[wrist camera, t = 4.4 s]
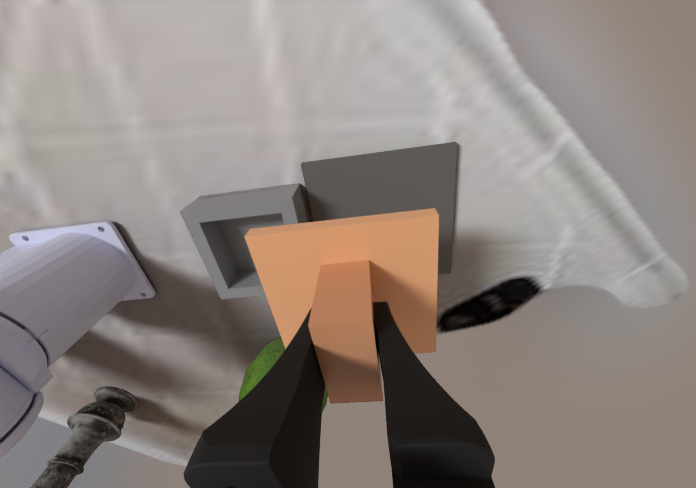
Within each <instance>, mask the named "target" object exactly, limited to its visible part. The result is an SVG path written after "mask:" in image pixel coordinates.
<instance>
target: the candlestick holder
mask: <svg viewBox="0 0 696 488" xmlns="http://www.w3.org/2000/svg"><path fill="white" fill-rule="evenodd" d="M94 397H95V399H96V402H93V403H90V404H88V405H86V406H85V407H83V408H82V409H80V410H79V411H78V412H77V413H76V414H74V415H72V416H70V417H69V418H68V420H67V424H68V426H69V427H70V428H71V429H72V433H71V435H70V437H69V439H68V441H67V442H66V443H65V444H64V446H63V447H62V448H61V450H60V451H59V452H58V454H57V455H56V456H55V457H53V458H50V459H48V461H47V465H48V467H47V468H46V469H45V471H44V472H43V473H42V474H41V476H40V477H39V478H38V479H37V481H36V482H35V483H34V485H32V487H31V488H67V487H68V486H69V484H70V483H71V482H72V480H73V479H74V477H75V476H76V475H78V474H81V473H82V472H83V471H84V468H83V466H84V465H85V463H86V462H87V460H88V459H89V457H90V456H91V454H92V453H93V452H94V451H95V449H96V448H97V447H98V446H99V445H100V444H102V443H103V442H104V441H114V440H116V439H118V438H119V437H120V436H121V429H122V428H123V426H124V422H125V413H124V412H128V411H132V410H134V409H136V407H137V406H138V402H137V399H136V398H135V397H134V396H133V395H132V394H130V393H129V392H127V391H125V390H122V389H119V388H116V387H100V388H98V389H96V391H95V392H94Z"/></svg>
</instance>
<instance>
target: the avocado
mask: <svg viewBox="0 0 696 488" xmlns="http://www.w3.org/2000/svg"><path fill="white" fill-rule="evenodd" d="M284 351H285V346H284V344H283V341H282V338H281V337H280V338H277V339H275V340H273V341H272V342H270V343H269V344H268V345H266V346H265V347H264V348H263V349H262V350H261V351H260V353H259V354H258V355H257V357H256V358H255V359H254V361H253V362H252V363H251V365H250V366H249V367H248V369H247V370H246V374H245V377H244V380H243V383H242V386H241V389H240V394H239V401H240V400H241V399H242V398H243V397H245V396H246V395H247V394H248V393H249V392H250V391H251V390H252V389H253V388H254V387H255V386H256V384H257V383H258V382H259V381H260V380H261V379H262V378H263V377H264V376H265V375H266V373H267V372H268V371H269V370H270V369H271V368H272V366H273V365H274V364H275V363H276V361H277V360H278V359H279V357H280V356H281V355H282V353H283V352H284ZM327 397H328V392H327V389H326V386H325V391H324V398H323V405H322V411H323V409H324V407H325V405H326V402H327Z"/></svg>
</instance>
